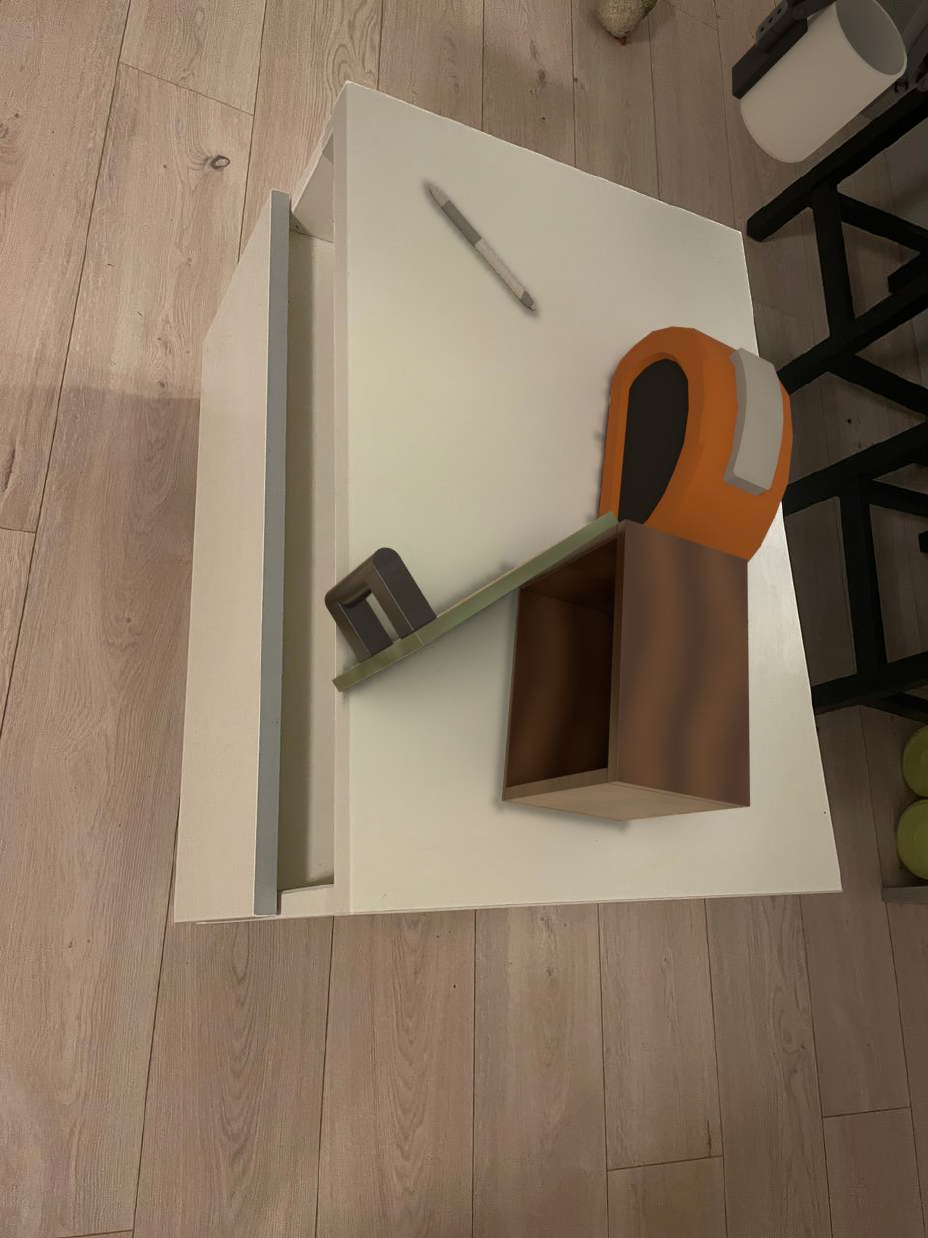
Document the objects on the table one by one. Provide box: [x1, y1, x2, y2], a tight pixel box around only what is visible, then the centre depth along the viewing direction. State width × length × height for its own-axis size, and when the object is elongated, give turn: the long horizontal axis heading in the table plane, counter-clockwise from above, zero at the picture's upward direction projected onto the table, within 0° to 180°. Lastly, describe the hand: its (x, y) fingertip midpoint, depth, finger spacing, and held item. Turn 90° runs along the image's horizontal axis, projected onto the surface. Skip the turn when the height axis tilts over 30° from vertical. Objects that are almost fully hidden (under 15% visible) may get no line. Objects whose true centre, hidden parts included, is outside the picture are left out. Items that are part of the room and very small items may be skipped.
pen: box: [429, 185, 536, 311], centre depth 83 cm, size 1×14×1 cm, turn 49°
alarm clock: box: [598, 325, 794, 563], centre depth 77 cm, size 23×9×17 cm, turn 171°
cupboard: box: [501, 519, 751, 822], centre depth 69 cm, size 11×18×15 cm, turn 174°
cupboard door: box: [324, 511, 619, 693], centre depth 64 cm, size 6×18×15 cm, turn 126°
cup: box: [739, 0, 907, 164], centre depth 67 cm, size 7×10×9 cm
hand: (775, 107), depth 71 cm, fingers closed on cup, 7 cm apart
